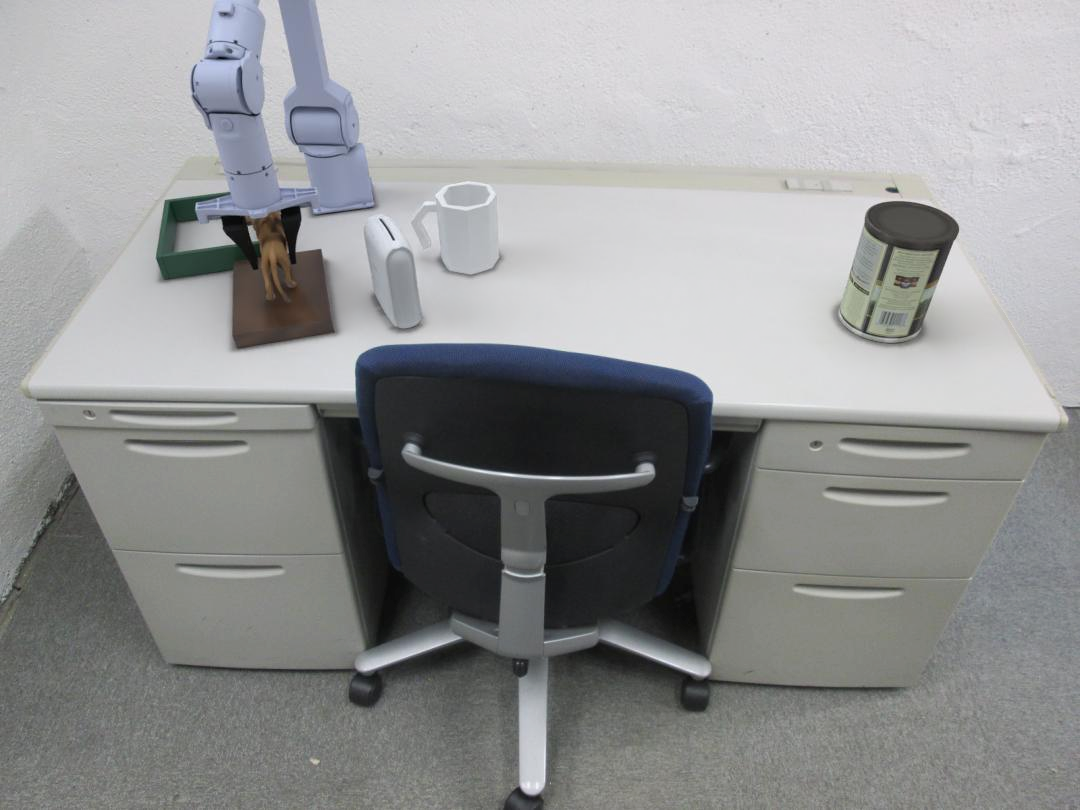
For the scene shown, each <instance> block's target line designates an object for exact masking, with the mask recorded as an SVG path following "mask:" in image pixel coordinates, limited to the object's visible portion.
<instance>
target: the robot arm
mask: <svg viewBox="0 0 1080 810" xmlns="http://www.w3.org/2000/svg"><path fill="white" fill-rule="evenodd" d="M260 1H261V0H215V1H214V3H213V5H212V8H211V9H212V10H211V15H210V21H209V26H208V33H207V37H206V42H205V43H206V44H205V48H204V54H203V58H201V59H200V60H199V61H198V62H197V63H195V64H194V65H193V66H192V67H191V69H190V73H189V86H190V97H191V100H192V102H193V104H194V107H195V108H196V110H197V111H198V112H199V113H200V114H201V117H202V118H203V121H204V125H205V127H206V128H207V130H210V131H211V132H212V134H213V137H214V141H215V144H216V148H217V151H218V156H219V158H220V162H221V166H222V168H223V172H224V176H225V179H226V183H227V185H228V189H229V192H230V193H231V195H227V196H223V197H220V198H216V199H213V200H209V201H204V202H198V203H196V207H195V211H196V214H197V217H198V219H197V220H198V224H199V225H204V224H209V223H210V221H217V220H221V225H222V230H223V233H224V234H225V235H226V236H227V238H229V239H230V240H232V242H233V244H236V245H237V246H238V247H239V248H240V249H241V251H242V252H243V253H244V255H245V256H246V258H247V259H248V261H249V263H250V265H251V267H252V269H253V270H258V259H257V255H256V252H255V249H254V246H253V243H252V242H253V240H252V238H251V234H250V231H249V226H247V222H246V218H245V216H250V218H251V219H257V218H264V217H267V216H268V213H271V212H276V211H279V213H280V214H281V223H282V227H283V230H284V234H285V237H286V241H287V245H288V253H289V258H290V262H291V265H292V264H296V263H297V262H296V252H297V251H296V249H297V242H298V241H297V240H298V235H299V232H300V228H301V225H302V219H303V218H302V209H305V208H307V209H308V208H311V209H312V213H313V214H314V215H321V214H322V215H323V214H327V213H329V214H330V213H336V212H343V211H350V210H351V211H352V210H358V209H364V208H365V209H367V208H373V207H374V206H375V201H374V195H373V189H374V186H373V180H372V177H371V176H370V171H369V163H368V159H367V153H366V149H365V144H364V143H363V142H358V141H359V138H360V118H359V114H358V111H357V108H356V106H355V103H354V98H353V96H352V92H351V91H350V90H348V89H347V88H345V87H344V86H342V85H341V84H339V83H337V82H336V81H335V80H332V79H331V78H330V73H329V66H328V61H327V55H326V51H325V46H324V39H323V33H322V30H321V29H322V28H321V24H320V18H319V11H318V7H317V1H316V0H277V1H278V6H279V11H280V16H281V21H282V25H283V29H284V35H285V40H286V44H287V48H288V49H287V50H288V54H289V58H290V64H291V68H292V72H293V73H292V74H293V78H294V82H295V84H294V85H293V86H292V87H291V88H290V89H289V90H288V91H287V92H286V94H285V96H284V97H283V102H282V103H283V109H284V111H283V112H284V126H285V127H284V129H285V132H286V135H287V138H288V139H289V141H290V142H291V143H292V145H293V146H297V147H298V152H299V153H303V156H304V160H305V165H306V169H307V174H308V179H309V185H310V187H305V188H303V187H280V185H279V181H278V177H277V172H276V168H275V164H274V160H273V156H272V153H271V147H270V145H269V140H268V136H267V132H266V127H265V123H264V120H263V119H264V118H263V115H262V110H263V107H264V103H265V100H266V99H265V95H266V92H265V83H264V67H263V65H262V63H261V62H260V61H261V55H262V50H263V49H262V48H263V42H264V38H265V30H266V26H267V25H266V24H267V21H266V18H265V15H264V14H263V11H262V10H261V9H260V8H259V5H260Z"/></svg>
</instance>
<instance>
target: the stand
mask: <svg viewBox="0 0 1080 810" xmlns="http://www.w3.org/2000/svg"><path fill="white" fill-rule="evenodd" d="M257 259H258V270H253V269H252V267H251V265H250V263H249V261H248V259H246V260H239V261H233V269H232V330H231V331H232V333H231V335H232V339H233V342H234V345H235V348H236V349H241V348H246V347H252V346H258V345H265V344H271V343H277V342H282V341H283V342H284V341H289V340H294V339H300V338H301V339H302V338H306V337H313V336H318V335H325V334H330V333H335V326H334V319H333V311H332V306H331V299H330V293H329V285H328V279H327V272H326V267H325V266H326V265H325V259H324V255H323V251H322V248H316V249H315V248H314V249H310V250H309V249H308V250H303V251H296V262H297V263H296V264H292V265H291V262H290V264H289V265H290V277H291V280H292V281H295V282H296V283H297V286H296V287H294V288H290V287H288V286H287V283H286V282H285V276H284V273H283V272H282V270H281V269H280V268H279V266H278V265H277V264H276V269H277V275H278V279H279V283H280V285H281V287H282V289H283V291H284V292H285V293H286V294H287V295H288V296H289V298H290V299H291V302H286V301H284V298H283V296H282V295H281V293H280V292H279V290H278V288H277V287H276V284H275V282H274V278H273V274H272V271H271V275H270V279H271V283H272V287H273V293H274V294H275V299H273V300H267V298H266V295H267V290H266V287H265V280H264V276H263V272H262V268H261V261H262V257H260V258H257ZM288 260H289V261H290V258H289V252H288Z"/></svg>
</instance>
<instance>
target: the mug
mask: <svg viewBox="0 0 1080 810" xmlns="http://www.w3.org/2000/svg"><path fill="white" fill-rule="evenodd" d="M434 197H435V200H434V201H433V200H425V201H424V202H422V204H421V205H420V206H419V207H418V209H417V210H416V211H415V212H414V213H413V214H412V215H411V219H410V224H411V226H412V227H411V228H412V229H413V231H414V233H415V235H416V238H417V239H418V241H419V243H420V247H421V248H422V250H423V251H424V250H427V249H429V248H431V247H432V238H431V236H430V235H429V232H428V231H427V229H426V227H425V226H424V224H423V222H422V221H423V219H424V218H425V217H426V215H427V214H428V213H436V217H437V229H438V237H439V238H438V239H439V249H440V257H441V260H442V262H443V264H444V265H445V267H446V269H447V270H448V271H449V272H453V273H460V274H464V275H470V276H472V275H476V274H479V273H482V272H485V271H488V270H492V269H493V268H494V266H495V265H496V263H497V261H499V259H500V243H499V242H500V241H499V240H500V239H499V219H498V218H499V217H498V200H497V199H498V197H497V192H496V191H495V190H494V189H493V188H492V186H491V184H488V183H482V182H477V181H476V182H475V181H470V180H467V181H462V182H457V183H451V184H446V185H444V186H442V188H440V190H438V192H436V194H435V195H434Z"/></svg>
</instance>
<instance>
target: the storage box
mask: <svg viewBox="0 0 1080 810" xmlns="http://www.w3.org/2000/svg"><path fill="white" fill-rule="evenodd" d="M227 195H231V193H230V191H225V192H217V193H209V194H208V193H207V194H201V195H192V196H184V197H178V198H177V197H175V198H170V199H169V198H168V199H164V202H163V209H162V216H161V220H160V227H159V234H158V239H157V240H158V241H157V248H156V253H155V260H156V262H157V266H158V268H159V270H160V273H161V276H162V279H163V280H170V279H177V278H184V277H191V276H197V275H204V274H212V273H219V272H224V271H231V270H232V271H233V261H239V260H246V259H247V258H246V256H245V255H244V253H243V252H242V251H241V249H240V248H239V247H238V246H237V245H236V244H235V243H233V244H225V245H220V246H212V247H204V248H197V249H196V248H195V249H190V250H182V251H175V252H174V248H175V247H174V246H175V238H176V232H177V231H176V230H177V223H180V222H186V221H187V222H189V221H195V220H198V217H197V214H196V211H195V207H196V203H198V202H204V201H209V200H213V199H216V198H220V197H223V196H227ZM252 243H253V246H254V249H255V252H256V255H257V258H260V257H262V255H261V252H260V244H259V240H254V241H252Z"/></svg>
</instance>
